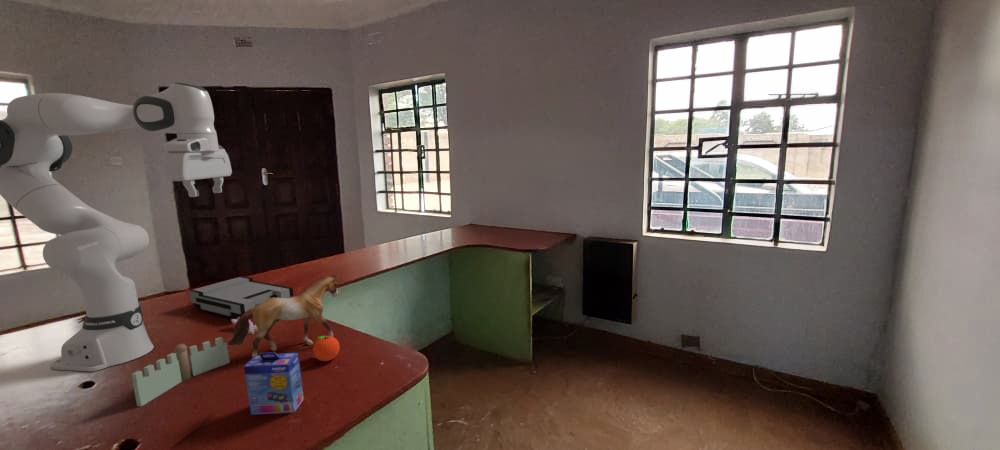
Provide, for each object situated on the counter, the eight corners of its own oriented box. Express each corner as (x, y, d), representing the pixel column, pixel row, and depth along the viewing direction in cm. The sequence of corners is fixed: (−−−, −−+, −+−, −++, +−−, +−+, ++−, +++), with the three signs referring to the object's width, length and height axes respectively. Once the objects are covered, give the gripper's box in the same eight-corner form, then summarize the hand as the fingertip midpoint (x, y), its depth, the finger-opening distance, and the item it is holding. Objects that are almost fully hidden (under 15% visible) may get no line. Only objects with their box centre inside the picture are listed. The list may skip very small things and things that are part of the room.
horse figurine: (343, 332, 131) (337, 272, 127) (348, 341, 124) (342, 278, 121) (230, 360, 114) (220, 292, 110) (229, 372, 107) (219, 300, 104)
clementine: (305, 363, 111) (303, 339, 110) (324, 351, 118) (322, 329, 116) (328, 367, 109) (325, 343, 107) (345, 355, 115) (343, 332, 114)
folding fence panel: (178, 381, 102) (173, 352, 100) (181, 381, 101) (177, 352, 100) (137, 406, 91) (131, 374, 90) (141, 406, 91) (135, 374, 90)
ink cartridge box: (248, 416, 88) (240, 356, 86) (261, 401, 94) (253, 344, 91) (294, 413, 89) (287, 353, 87) (304, 398, 94) (298, 342, 92)
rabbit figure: (267, 335, 133) (244, 320, 140) (266, 319, 131) (243, 305, 139) (247, 343, 128) (224, 326, 135) (246, 326, 126) (223, 311, 134)
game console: (242, 324, 140) (239, 302, 139) (191, 311, 154) (188, 290, 153) (294, 304, 159) (292, 284, 157) (245, 294, 173) (242, 276, 171)
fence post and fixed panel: (181, 382, 101) (175, 347, 100) (177, 379, 103) (171, 345, 101) (230, 364, 110) (226, 331, 109) (227, 361, 112) (222, 329, 110)
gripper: (213, 145, 119) (219, 190, 122) (157, 144, 99) (166, 199, 102) (234, 145, 119) (240, 190, 122) (182, 144, 99) (191, 199, 102)
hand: (206, 194), depth 112 cm, fingers open, 8 cm apart
